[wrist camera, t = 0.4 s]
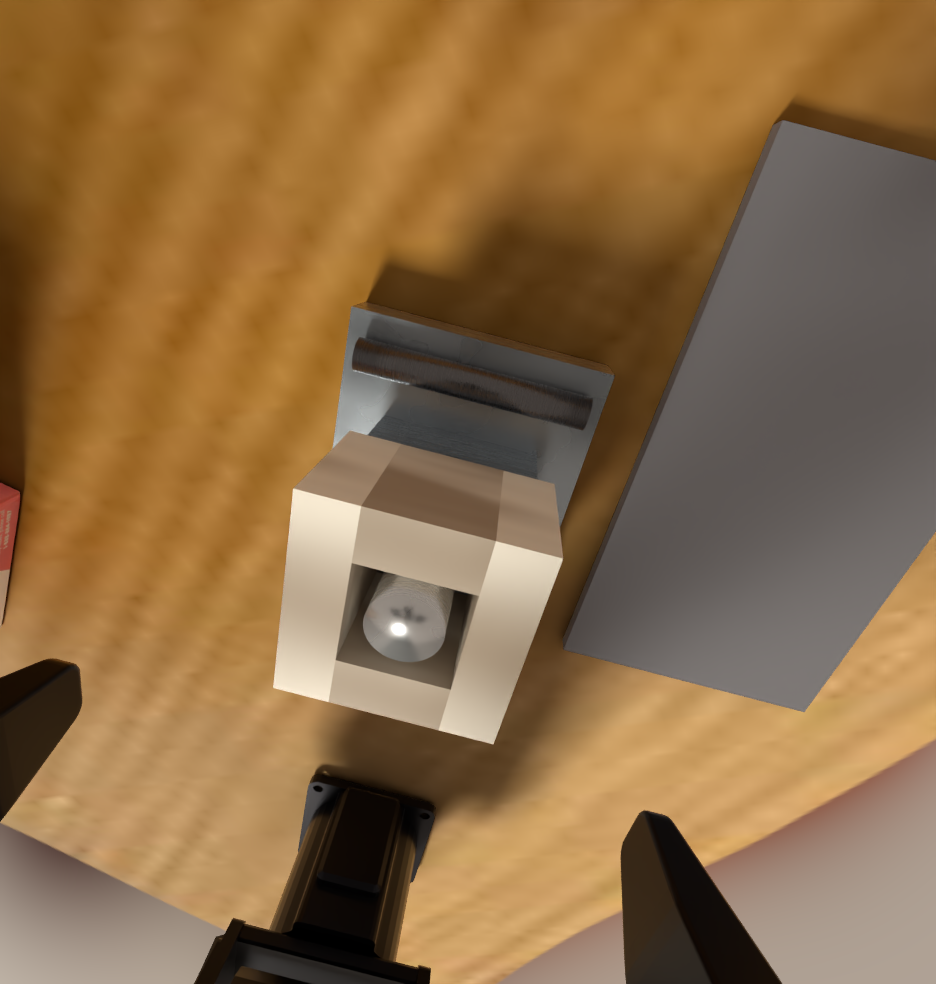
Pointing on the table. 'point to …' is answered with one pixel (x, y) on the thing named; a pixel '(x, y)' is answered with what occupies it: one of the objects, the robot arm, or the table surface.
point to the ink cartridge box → (7, 536)
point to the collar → (421, 556)
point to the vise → (461, 430)
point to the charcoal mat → (784, 435)
